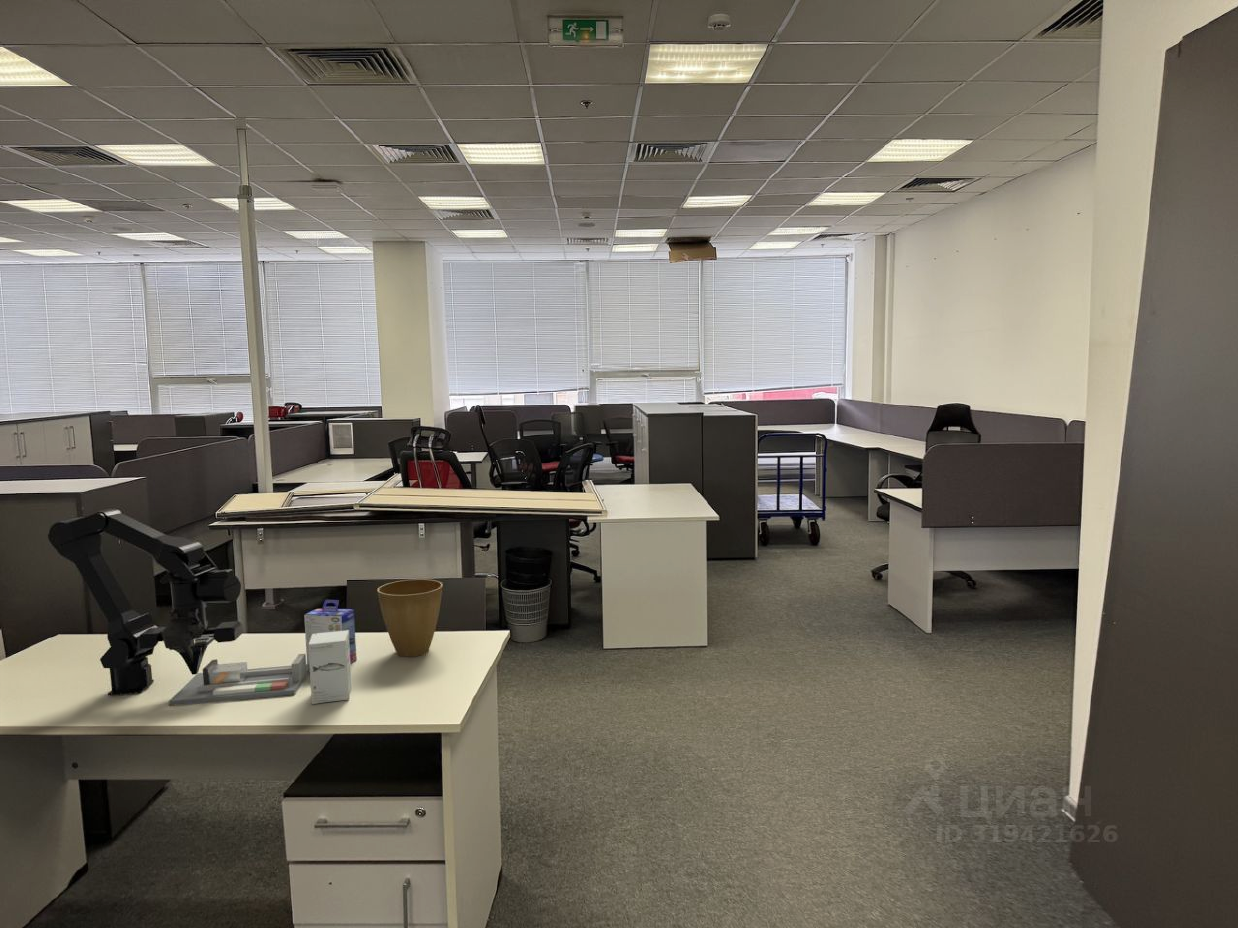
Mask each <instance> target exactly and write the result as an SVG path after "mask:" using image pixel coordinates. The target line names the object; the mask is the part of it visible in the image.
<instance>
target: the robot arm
mask: <svg viewBox="0 0 1238 928" xmlns="http://www.w3.org/2000/svg"><path fill="white" fill-rule="evenodd" d="M102 533H106V534H108V535H110V536H112V537H115V538H116V539H119V540H121V541H123V542H125V543H127V544H129V545H131V546H133V547H135V548H137V549H139V550H141V551H143V552H144V553H147V554H148V555H150V556H152V558H153V559H154V561H155V563H156V564H157V565H159V566H160V567H162V568H163V569H164V570H165V571H166V574H165V575H164V576H163V577H162V578H160V579H159V582H160V583H161V584H170V593H171V601H172V602H171V603H172V610H171V611H170V617H169V618H170V620H169V622H168V624H167V625H166V626H161V627H160V626H157V625H156V624H155V623H154V621H153V618H152V615H150V613H149V612H146V613H144V614H140V613H138V612H137V611H135V610H134V609H133V607H132V605H131V603H130V602H129V600H128V598H127V596H126V595H125V593H124V591H123V589H122V588H121V586H120V584H119V583H118V582H119V581H118V580H117V579H116V576H115V575H114V572H112V570H111V568H110V566H109V565H108V562H107V561H106V559H105V558H104V556H103V555H102V552H101V551H102V543H103V542H102V539H103V538H102V536H101V534H102ZM47 538H48V540H49V543H50V545H51V546H52V547H53V548H54V549H55V551H56V552H57V553H58V555H59V556H62V557H63V558H65V559H67V560H68V561H69V562H71V563H72V564H74V565H75V567H76V568H77V570H78V572H79V574H80V575H81V577H82V580H83V581H84V583H85V584H86V587H88V590H89V592H90V594H91V595H92V597H93V599H94V601H95V602H96V604H97V606H98V607H99V610H100V611H101V612H102V614H103V616H104V618H105V619H106V621H107V623H108V624H107V641H108V643H109V645H110V646H109V648H108V649H107V650H106V652H105V653H104V654H103V655H102V656H101V657H100V659H99V660H100V662H101V663H100V664H101V665H102V667H103V669H109V674H110V685H111V690H109V692H108V693H107V696H109V695H110V696H121V695H129V694H131V695H132V694H141V693H143V692H144V691H145V690H146V689H147V688H149V686H150V685H152V684H153V683H154V682H155V680H154V679H153V672H152V665H151V664H150V663H149V658H148V656H151V655H153V654H154V650H155V647H156V646H157V645H158V644H159V642H163V645H164V647H165V649H168V650H170V651H175V652H177V654H179V655H180V656H181V658H182V659H183V661H184V662H185V664H186V666H187V668H188V670H189V671H190V673H191V675H194V676H195V675H197V674H198V673H199V671H200V668H201V664H202V662H203V658H204V657H205V656H204V655H205V652H206V651H207V648H208V646H209V645H210V644H212V642H213V641H216V642H217V643H230V642H234V641H236V640H238V638H239V637H240V636H242V635H243V634H244V630H243V624H242V623H241V622H240V621H239V620H236V621H235V620H234V621H224V622H223V621H222V622H221V623H219V624H218V626H216V627H209V628H207V627H208V626H209V620H207V618H206V608H207V606H208V605H207V603H234V602H236V601H237V600H238V598H239V596H240V595H241V589H242V583H241V582H240V579H239V578H238V577H237V576H236V575H235V574H234V570H233V569H231V568H230V569H229V568H227V569H222V570H221V569H219V567H218V566H217V564H215V562H214V561H213V560H212V558H211V557H209V555H208V554H207V553H206V552H205V550H204V549H205V548H204V546H203V545H202V544H201V543H200V542H199V541H196V540H192V539H189V538H186V537H180V536H173V535H172V536H171V535H169V534H165V533H163V532H161V531H158V530H156V529H154V528H152V527H151V526H148V525H146V524H144V523H143V522H140V521H138V520H136V519H134V518H132V517H130V516H128V515H126V514H124V513H122V511H121V510H119V509H116V508H108V509H104V510H103V509H102V510H99V511H96V512H94V513H93V514H90V515H88V516H82V517H81V516H80V517H76V518H75V517H74V518H71V519H66V520H62V521H58V522H55V523H54V524H52V525H51V527H50V529H49V531H48V533H47ZM120 694H121V695H120Z"/></svg>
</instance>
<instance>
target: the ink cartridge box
mask: <svg viewBox="0 0 1238 928" xmlns="http://www.w3.org/2000/svg"><path fill="white" fill-rule="evenodd" d="M339 602H340V600H339V599H325V600H324V602H323V606H322V608H316V609H313V610H311V611H308V612H307V613H305V614H304V615H303V616H304V617H303V618H304V632H305V634H304V635H305V651H306V653H305V654H306V664H309V647H308V645H309V642H310V639H311V636H312V634H316V633H326V632H337V631H346V630H349V646H350V664H352V663H354V662H355V660H356V661H357V642H356V631H355V630H356V629H355V628H356V626H355V610H354V608H353V609H349V608H339V604H340V603H339ZM331 603H332V604H334V606H331V605H327V604H331Z"/></svg>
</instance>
